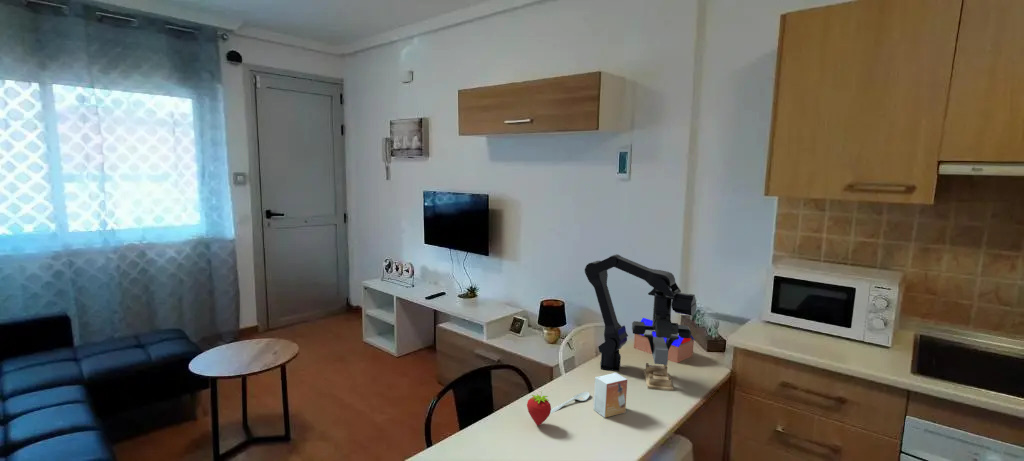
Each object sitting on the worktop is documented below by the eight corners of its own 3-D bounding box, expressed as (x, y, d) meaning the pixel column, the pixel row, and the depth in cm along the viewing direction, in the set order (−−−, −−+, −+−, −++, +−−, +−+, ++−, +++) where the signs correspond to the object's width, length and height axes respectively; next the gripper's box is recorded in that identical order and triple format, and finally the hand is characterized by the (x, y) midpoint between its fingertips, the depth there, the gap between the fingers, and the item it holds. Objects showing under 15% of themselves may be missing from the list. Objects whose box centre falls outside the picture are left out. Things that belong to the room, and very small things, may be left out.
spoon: (593, 399, 152) (593, 394, 152) (545, 419, 139) (546, 414, 139) (583, 394, 155) (583, 389, 155) (536, 414, 142) (536, 408, 142)
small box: (604, 418, 140) (606, 384, 138) (592, 409, 145) (594, 376, 143) (626, 412, 143) (628, 379, 142) (614, 404, 148) (615, 371, 147)
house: (649, 341, 203) (651, 315, 202) (693, 356, 188) (696, 327, 187) (632, 348, 196) (634, 320, 194) (677, 364, 181) (679, 334, 179)
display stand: (647, 388, 159) (648, 378, 159) (643, 370, 173) (644, 361, 173) (672, 390, 158) (673, 380, 158) (666, 373, 172) (667, 363, 171)
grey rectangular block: (654, 363, 159) (655, 349, 158) (651, 350, 171) (651, 336, 170) (667, 364, 158) (668, 350, 158) (662, 351, 170) (663, 337, 169)
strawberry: (536, 416, 140) (537, 383, 139) (555, 426, 135) (556, 392, 133) (521, 422, 136) (522, 389, 135) (540, 434, 131) (541, 399, 129)
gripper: (635, 314, 156) (632, 360, 158) (696, 319, 153) (692, 365, 155) (633, 304, 167) (630, 348, 169) (689, 308, 164) (685, 352, 166)
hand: (659, 353), depth 164 cm, fingers closed on grey rectangular block, 4 cm apart
